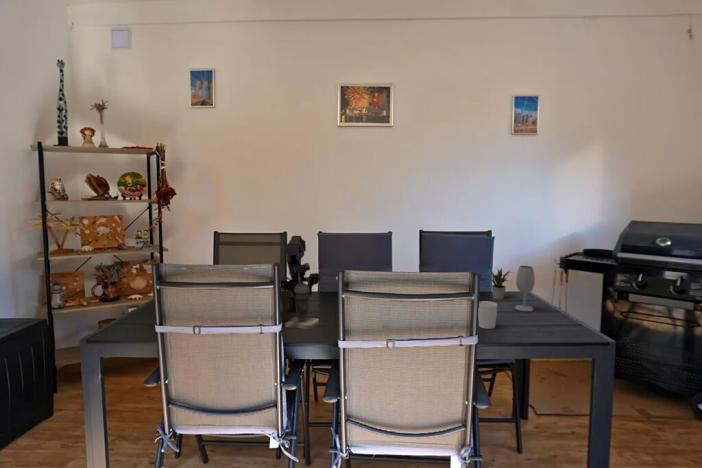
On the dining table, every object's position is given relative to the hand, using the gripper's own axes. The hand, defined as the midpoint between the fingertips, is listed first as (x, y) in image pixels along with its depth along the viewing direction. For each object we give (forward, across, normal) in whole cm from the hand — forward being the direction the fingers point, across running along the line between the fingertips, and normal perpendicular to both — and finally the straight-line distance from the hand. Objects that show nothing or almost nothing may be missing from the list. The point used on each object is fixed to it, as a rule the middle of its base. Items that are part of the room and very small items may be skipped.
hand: (302, 297), depth 192 cm
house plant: (+11, +108, +8) cm, 108 cm away
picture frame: (+8, 0, +10) cm, 13 cm away
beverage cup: (+6, 0, +8) cm, 10 cm away
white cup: (+34, +71, -16) cm, 80 cm away
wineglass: (+25, +104, -7) cm, 107 cm away
